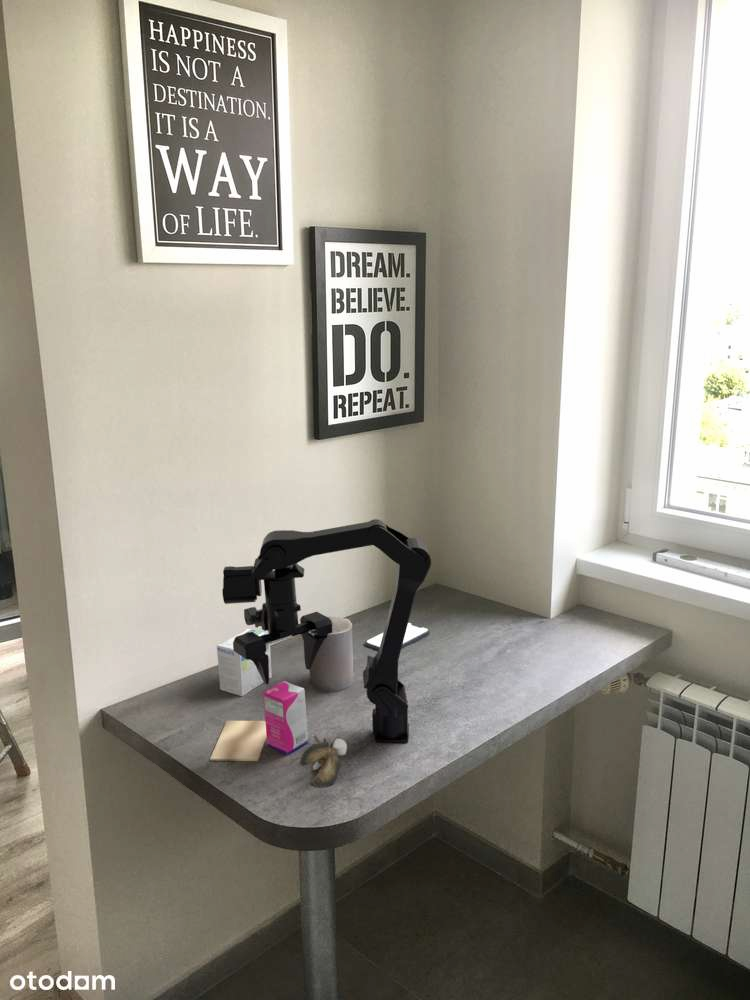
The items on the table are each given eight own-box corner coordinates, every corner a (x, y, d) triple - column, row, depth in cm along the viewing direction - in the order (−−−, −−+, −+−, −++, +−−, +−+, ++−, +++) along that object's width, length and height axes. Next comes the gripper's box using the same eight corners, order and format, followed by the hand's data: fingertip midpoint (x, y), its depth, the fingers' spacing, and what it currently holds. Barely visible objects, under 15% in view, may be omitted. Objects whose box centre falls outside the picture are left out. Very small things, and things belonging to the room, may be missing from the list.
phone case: (389, 657, 198) (432, 635, 210) (389, 651, 198) (432, 629, 209) (362, 647, 204) (405, 626, 216) (362, 641, 204) (405, 620, 215)
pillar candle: (300, 682, 185) (298, 620, 181) (332, 667, 192) (330, 607, 188) (331, 697, 179) (329, 632, 175) (362, 680, 186) (361, 618, 182)
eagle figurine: (302, 752, 156) (289, 770, 147) (323, 722, 155) (311, 738, 146) (335, 776, 155) (324, 796, 146) (356, 746, 154) (347, 765, 145)
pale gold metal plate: (271, 722, 169) (271, 720, 168) (258, 761, 155) (258, 759, 155) (227, 722, 169) (226, 720, 169) (210, 760, 155) (210, 758, 155)
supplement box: (287, 733, 165) (284, 679, 162) (308, 742, 161) (306, 688, 158) (265, 745, 160) (262, 691, 157) (287, 755, 157) (284, 700, 154)
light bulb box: (249, 671, 192) (247, 627, 189) (273, 677, 188) (270, 632, 186) (218, 690, 183) (215, 644, 180) (242, 697, 179) (239, 651, 177)
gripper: (301, 576, 167) (307, 648, 171) (215, 600, 156) (224, 676, 160) (332, 591, 158) (337, 666, 162) (243, 617, 148) (251, 697, 152)
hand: (287, 676), depth 159 cm, fingers open, 9 cm apart
